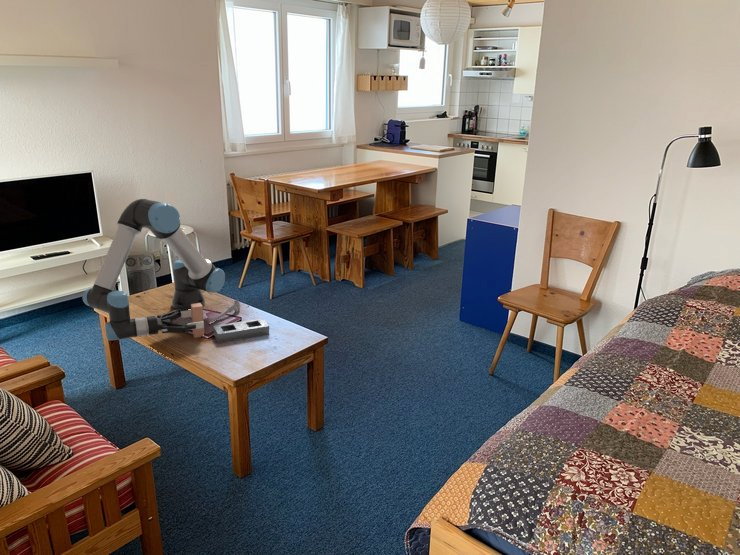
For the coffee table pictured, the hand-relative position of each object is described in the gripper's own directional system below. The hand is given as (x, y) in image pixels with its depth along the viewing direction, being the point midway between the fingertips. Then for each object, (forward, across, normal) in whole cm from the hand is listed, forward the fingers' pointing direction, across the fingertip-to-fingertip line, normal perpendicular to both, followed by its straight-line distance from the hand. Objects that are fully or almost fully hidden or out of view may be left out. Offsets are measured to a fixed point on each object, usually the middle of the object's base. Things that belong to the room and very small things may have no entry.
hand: (200, 318), depth 240 cm
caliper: (+14, -15, -8) cm, 22 cm away
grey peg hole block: (+16, +6, -8) cm, 19 cm away
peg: (-1, 0, -8) cm, 8 cm away
